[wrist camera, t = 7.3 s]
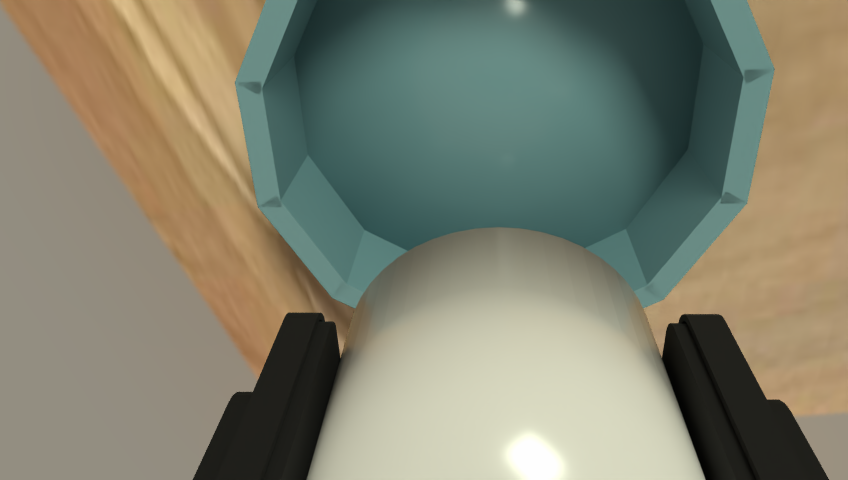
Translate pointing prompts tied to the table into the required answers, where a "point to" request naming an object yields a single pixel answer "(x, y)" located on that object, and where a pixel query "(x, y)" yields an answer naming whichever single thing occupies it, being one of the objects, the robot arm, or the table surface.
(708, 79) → the bowl
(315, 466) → the pale stone
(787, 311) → the table surface
